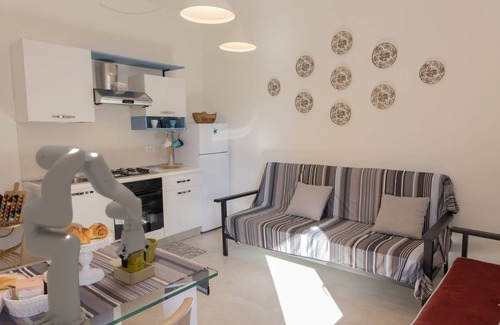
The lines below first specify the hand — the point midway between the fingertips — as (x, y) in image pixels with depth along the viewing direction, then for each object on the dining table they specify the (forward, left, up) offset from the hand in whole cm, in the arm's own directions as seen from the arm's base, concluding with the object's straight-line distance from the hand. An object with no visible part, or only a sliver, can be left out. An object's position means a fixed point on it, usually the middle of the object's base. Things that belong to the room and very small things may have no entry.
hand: (134, 263), depth 153 cm
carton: (0, 0, -6) cm, 6 cm away
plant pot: (+15, +10, -6) cm, 19 cm away
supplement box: (0, 0, -6) cm, 6 cm away
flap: (0, +9, -1) cm, 9 cm away
